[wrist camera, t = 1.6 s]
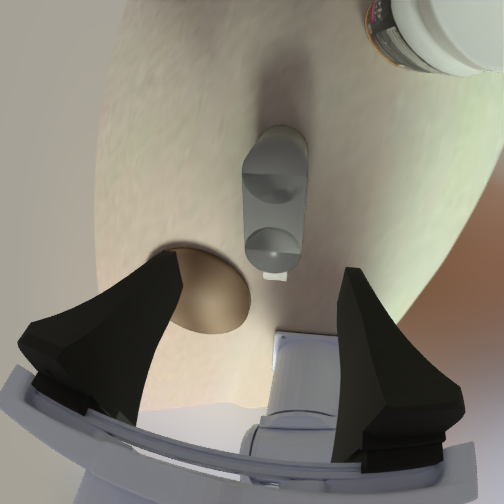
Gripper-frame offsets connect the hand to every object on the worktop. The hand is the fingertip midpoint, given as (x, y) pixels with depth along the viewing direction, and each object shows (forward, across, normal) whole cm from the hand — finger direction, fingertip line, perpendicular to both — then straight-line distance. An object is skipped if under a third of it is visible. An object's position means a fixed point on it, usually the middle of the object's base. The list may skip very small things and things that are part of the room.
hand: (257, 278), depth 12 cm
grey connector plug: (+10, 0, +1) cm, 10 cm away
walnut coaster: (+10, +8, +12) cm, 18 cm away
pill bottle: (+11, -8, -12) cm, 18 cm away
